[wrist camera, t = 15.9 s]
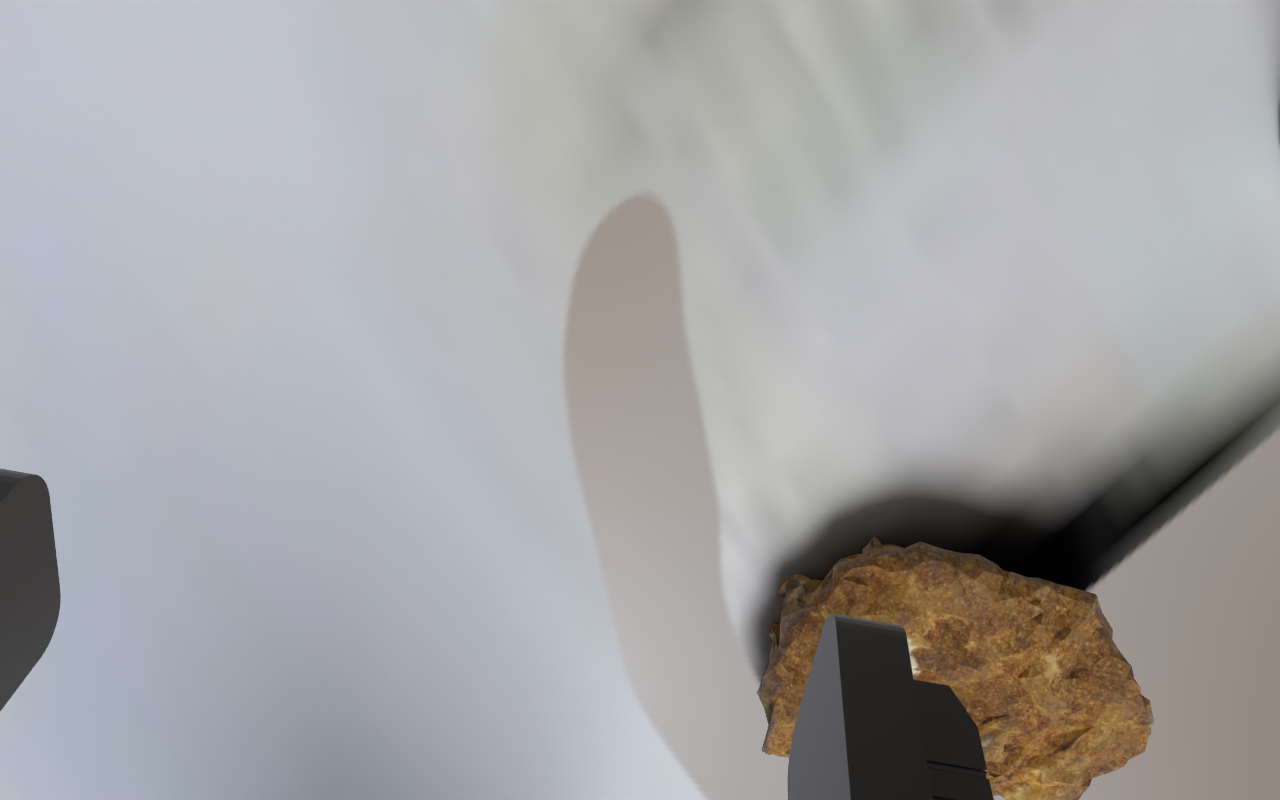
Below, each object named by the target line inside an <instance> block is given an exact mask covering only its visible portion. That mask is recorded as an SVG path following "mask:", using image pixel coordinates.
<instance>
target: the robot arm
mask: <svg viewBox="0 0 1280 800" xmlns="http://www.w3.org/2000/svg"><path fill="white" fill-rule="evenodd" d="M59 609H60V585H59V576H58V567H57V558H56V549H55V541H54V532H53V523H52V514H51V505H50V497H49V491H48V488H47V485H46V483H45V481H44V480H43V479H42V478H41V477H40V476H38V475H34V474H28V473H22V472H16V471H11V470H5V469H0V711H1V710H2V708H3V707H4V706H5V704H6V703H7V702H8V700H9V699H10V698H11V696H12V695H13V694H14V692H15V691H16V690H17V688H18V687H19V686H20V684H21V683H22V682H23V680H24V679H25V678H26V676H27V675H28V674H29V672H30V671H31V670H32V668H33V667H34V666H35V664H36V663H37V662H38V660H39V659H40V658H41V656H42V655H43V653H44V652H45V650H46V648H47V646H48V645H49V642H50V640H51V638H52V636H53V633H54V630H55V627H56V623H57V620H58V615H59ZM986 774H987V767H986V762H985V758H984V753H983V748H982V744H981V739H980V734H979V730H978V726H977V725H976V724H975V722H974V721H973V719H972V718H971V716H970V715H969V713H968V712H967V711H966V709H965V708H964V706H963V705H962V703H961V702H960V701H959V699H958V698H957V696H956V695H955V693H954V692H953V690H952V689H951V688H950V686H949V685H943V684H937V683H931V682H925V681H920V680H914V679H913V672H912V666H911V660H910V654H909V647H908V641H907V636H906V632H905V629H904V628H903V626H901V625H896V624H890V623H884V622H878V621H872V620H867V619H861V618H855V617H849V616H843V615H837V614H832V613H831V614H830V615H829V616H828V617H827V619H826V621H825V624H824V627H823V630H822V633H821V636H820V640H819V643H818V647H817V650H816V654H815V657H814V660H813V664H812V667H811V671H810V674H809V678H808V681H807V685H806V688H805V691H804V695H803V698H802V702H801V705H800V709H799V712H798V716H797V719H796V723H795V727H794V731H793V737H792V742H791V749H790V757H789V767H788V800H994V799H993V795H992V790H991V785H990V781H989V779H987V778H986Z"/></svg>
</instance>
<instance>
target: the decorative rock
mask: <svg viewBox="0 0 1280 800" xmlns="http://www.w3.org/2000/svg"><path fill="white" fill-rule="evenodd" d="M778 593H779V595H780V597H781V599H782V601H783V602H784V603H783V607H782V613H781V620H780V625H779V624H776V623H772V625H771V628H770V632H769V635H770V637H771V638H772V640H773V642H772V647H771V651H770V659H769V665H768V667H767V668H766V671H765V673H764V675H763V677H762V681H761V685H760V687H759V689H758V692H757V693H758V696H759V698H760V700H761V702H762V704H763V707H764V709H765V713H766V717H767V721H768V724H769V726H768V730H767V734H766V737H765V741H764V744H763V747H762V751H763V752H765V753H767V754H769V755H770V754H774V755H777V756H783V757H790V749H791V742H792V737H793V731H794V727H795V723H796V719H797V716H798V712H799V709H800V705H801V702H802V698H803V695H804V691H805V688H806V685H807V681H808V678H809V674H810V671H811V667H812V664H813V660H814V657H815V654H816V650H817V647H818V643H819V640H820V636H821V633H822V630H823V627H824V624H825V621H826V619H827V617H828V616H829V615H830V614H831V613H832V614H837V615H843V616H849V617H855V618H861V619H867V620H872V621H878V622H884V623H890V624H896V625H901V626H903V628H904V629H905V632H906V636H907V641H908V647H909V654H910V660H911V666H912V672H913V679H914V680H920V681H925V682H931V683H937V684H943V685H949V686H950V688H951V689H952V690H953V692H954V693H955V695H956V696H957V698H958V699H959V701H960V702H961V703H962V705H963V706H964V708H965V709H966V711H967V712H968V713H969V715H970V716H971V718H972V719H973V721H974V722H975V724H976V725H977V726H978V730H979V734H980V739H981V744H982V748H983V753H984V758H985V762H986V767H987V774H986V778H987V779H989V781H990V785H991V790H992V795H993V796H995V795H1001V796H1002V797H1004V798H1005V799H1006V800H1079V798H1080V797H1081V795H1082V794H1083V792H1084V791H1085V790H1086V789H1087V788H1088V787H1089V785H1090V782H1091V780H1092V778H1094V777H1097V776H1100V775H1103V774H1106V773H1109V772H1112V771H1114V770H1117V769H1119V768H1121V767H1123V766H1124V765H1125V764H1126V763H1127V761H1128V760H1129V759H1131V758H1133V757H1135V756H1137V755H1139V754H1141V753H1143V752H1144V751H1145V748H1146V744H1147V740H1148V737H1149V735H1150V734H1151V728H1152V725H1153V723H1154V720H1153V715H1152V711H1151V706H1150V700H1148V699H1147V698H1145V697H1144V696H1142V695H1141V694H1140V689H1141V688H1140V686H1139V685H1138V683H1137V682H1136V681H1135V679H1134V676H1133V671H1132V667H1131V665H1130V664H1129V663H1128V662H1127V660H1126V659H1125V658H1124V657H1123V655H1122V654H1121V653H1120V651H1119V650H1118V648H1117V647H1116V645H1115V644H1114V642H1113V640H1112V631H1113V630H1112V628H1111V626H1110V625H1109V623H1108V622H1107V620H1106V618H1105V617H1104V615H1103V614H1102V612H1101V609H1100V606H1099V603H1098V598H1097V596H1096V595H1095V594H1093V593H1089V592H1086V591H1083V590H1080V589H1076V588H1072V587H1068V586H1064V585H1060V584H1056V583H1053V582H1051V581H1048V580H1044V579H1040V578H1033V577H1025V576H1022V575H1019V574H1016V573H1013V572H1008V571H1004V570H1002V569H1001V568H1000V567H999V566H998V565H997V564H995V563H994V562H992V561H990V560H988V559H986V558H984V557H982V556H981V555H979V554H969V553H958V552H954V551H950V550H946V549H942V548H938V547H935V546H932V545H929V544H926V543H924V542H921V541H920V542H918V543H915V544H913V545H911V546H909V547H906V548H902V547H899V546H896V545H893V544H887V545H882V544H881V543H880V542H879V541H878V539H877V538H876V537H872V539H871V540H870V542H869V544H868V545H867V546H866V547H865V548H864V549H863V550H862V553H861V554H854V555H851V556H847V557H844V558H843V559H840V560H839V561H838V562H837V563H836V564H835V565H834V566H833V567H832V569H831V570H830V571H829V573H828V574H827V575H826V577H825V578H824V580H823V581H820V580H813V579H809V578H808V577H806V576H804V575H799V574H793V575H792V576H791V577H790V578H788V579H787V580H786V581H785V582H784V583H783V584H782V585H781V587H780V590H779V592H778Z"/></svg>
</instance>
